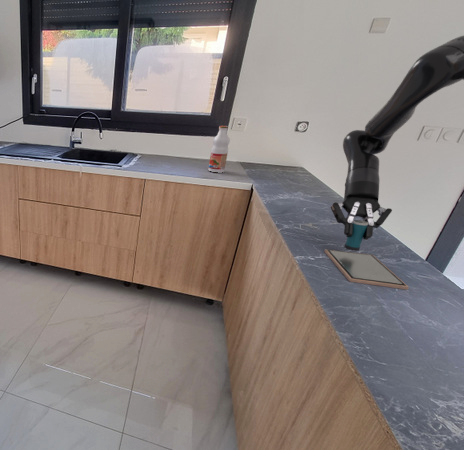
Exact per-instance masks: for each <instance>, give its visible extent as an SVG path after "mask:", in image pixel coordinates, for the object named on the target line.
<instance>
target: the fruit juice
mask: <svg viewBox="0 0 464 450" xmlns="http://www.w3.org/2000/svg"><path fill="white" fill-rule="evenodd" d="M228 129H229V126H228V125H219V127H218V132H217V134H216V136H215V137H214V138H213V140H212V147H211V149H210V150H211V151H210V157H209V162H208V170H209V171H212V172H218V173H217V174H223V173H224V172H225V169H226V163H227V158H228V154H229V144H230V138H229V135H228ZM208 170H207V171H208ZM209 171H208V172H209ZM212 172H211V173H212ZM222 172H223V173H222Z"/></svg>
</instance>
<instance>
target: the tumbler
mask: <svg viewBox="0 0 464 450" xmlns="http://www.w3.org/2000/svg"><path fill="white" fill-rule="evenodd" d="M352 224H353V232H352V236H351V237H346V240H345V241H346V242H345V244H344V246H343V247H344V248H345V249H346V250H350V251H355V252H357V251H359V250H360V248H361V244H362V242H363V240H364V239H363V236H364V234H365V231H366V228H367V225H368V222H365V221H363V220H361V219H360V220H359V219H353V222H352Z"/></svg>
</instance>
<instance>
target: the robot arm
mask: <svg viewBox="0 0 464 450" xmlns="http://www.w3.org/2000/svg"><path fill="white" fill-rule="evenodd" d="M461 81H464V34H463V35H460V36H457V37H454V38H453V39H451V40H449V41H447V42H445V43H443V44H441V45H439V46H437V47H435V48H433V49H430V50H429V51H427V52H425V53H424V54H422V55H421V56H419V58H417V60H416V61H415V62H414V63H413V64H412V66H411V67H410V68H409V70H408V71H407V73H406V74H405V76H404V77H403V79H402V81H401V82H400V84H398V87H397V88H396V89H395V91H394V92H393V93H392V95H391V96H390V97H389V99H387V100H388V101H386V102H385V104H384V105H383V106H382V107H381V108H380V109H379V110H378V111H377V112H376V113H375V114H374V115H373V116H372V117H371V118H370V119H369V120H368V121H367V123H366V124H365V126H364V130H363V129H355V130H352V131H350V132H348V133H347V134H346V135H345V136H344V138H343V141H342V149H343V153H344V155H345V158H346V161H347V174H346V179H345V183H344V194H343V195H344V196H343V201H342V202H333V203H332V204H331V206H330V209H331V212H332V214H333V216H334V218H335V221H336V223H338V224H343V225H344V230H343V234H344V235H345V236H346V238H348V237H351V236H352V232H353V224H352V223H353V220H355V217H356V218H357V217H358V218H362V221H365V222H368V225H367V228H366V231H365V234H364V236H363V239H362V240H364V241H368V240H369V239H370V238H372V237H373V235H374V232H373V231H374V229H378V228H379V227H380V226H382V225H383V224H384V222H385V221H386V220H387V218H388V217H389V215H390V214H391V213H392V211H393V209H392V208H388V207H387V208H384V207H382V206H381V204H380V203H379V197H380V196H379V195H380V158H379V157H378V156H377V155H378V154H381V153H382V152H384V151H385V150H386V149H387V147H388V145H389V143H390V140H391V139H392V137H393V136H394V134H395V133H396V132H397V131H399V130H400V129H401V128H402V127H403V126H404V125H405V124H406V123H408V122H409V121H410V119H411V118H412V117H413V115H414V114H415V111H416V108H417V107H418V106H419V105H420V104H421V103H422V102H424V101H425V100H426V99H428V98H429V97H431V96H432V95H434V94H435V93H437V92H439V91H440V90H442V89H444V88H447V87H451V86H452V85H454V84H456V83H459V82H461ZM342 209H344V210H345V212H346V213H347V214H346V217H345V215H344V212H343V210H342ZM375 212H378V213H377V214H378V216H379V217H378V218H377V220H376V221H374V214H375Z"/></svg>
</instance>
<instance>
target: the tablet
mask: <svg viewBox="0 0 464 450" xmlns="http://www.w3.org/2000/svg"><path fill="white" fill-rule="evenodd" d="M324 253H325V255H326V256H327V257H328V258H329V259H330V261H331V262H332V263H333V264H334V265H335V266H336V268H337V269H338V270H339V271H340V272H341V274H342V275H343V276H344V277H345V278H346V279H347V281H348V282H350V283H355V284H356V283H358V284H362V285H369V286H370V285H371V286H378V287H385V288H392V289H398V290H399V289H400V290H405V291H406V290H409V287H410V286H409V285H407V284H406V283H405V282H404V281H403V280H402V279H401V278H399V277H398V276H397V274H395V273H394V272H393V271H392V270H391V269H389V268H388V267H387V266H386V265H385V264H384V263H383V262H382V261H380V260H379V258H377V257H376V256H375V255H374V254H370V253H360V252H353V251H344V250H343V251H342V250H334V249H327V248H326V249H324Z"/></svg>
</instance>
